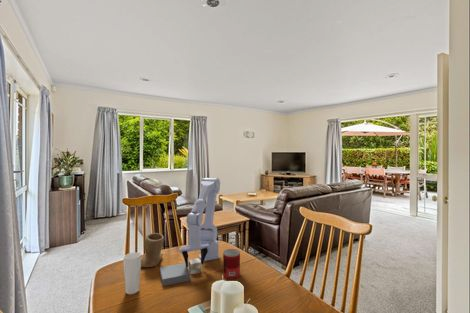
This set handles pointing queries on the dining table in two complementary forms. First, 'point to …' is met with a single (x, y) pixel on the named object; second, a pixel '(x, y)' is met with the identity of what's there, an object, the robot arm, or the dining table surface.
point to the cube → (194, 266)
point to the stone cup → (152, 250)
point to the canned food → (231, 263)
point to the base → (174, 274)
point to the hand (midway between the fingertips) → (194, 265)
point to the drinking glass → (132, 272)
